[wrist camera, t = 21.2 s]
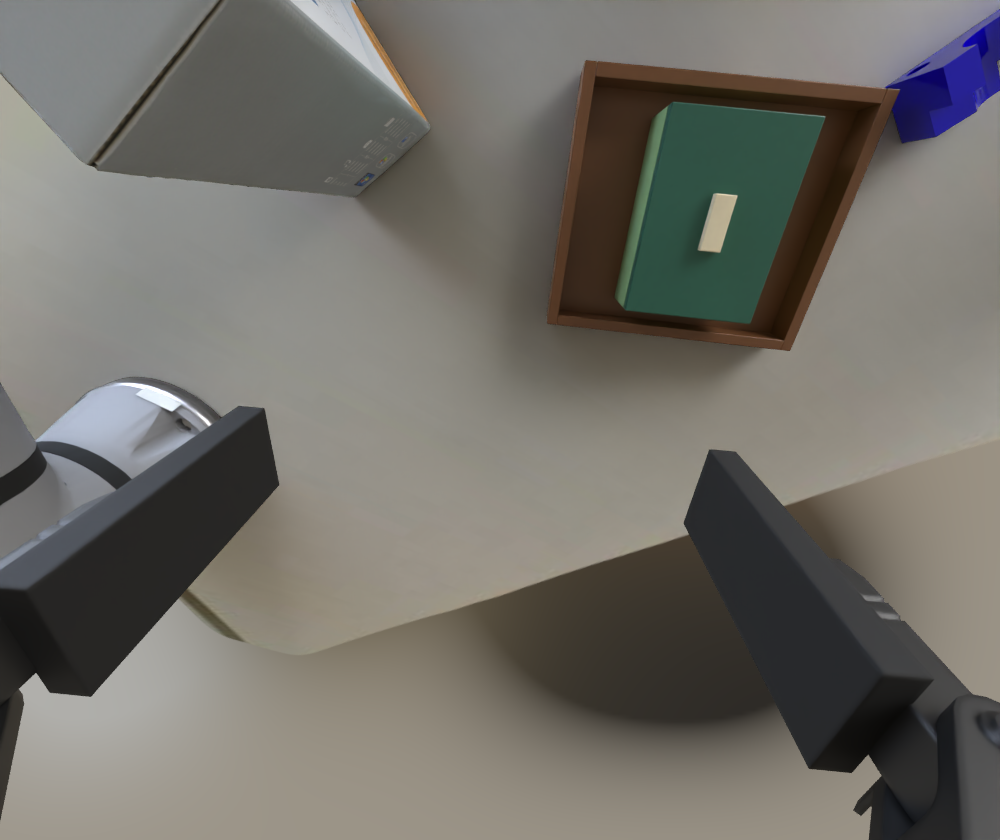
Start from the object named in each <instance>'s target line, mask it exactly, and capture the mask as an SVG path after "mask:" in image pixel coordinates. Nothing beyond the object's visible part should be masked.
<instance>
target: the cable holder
mask: <svg viewBox="0 0 1000 840" xmlns="http://www.w3.org/2000/svg"><path fill="white" fill-rule="evenodd" d="M998 60H1000V9H999V10H998V11H996V12H995V13H993V14H992V15H990V16H989V17H987V18H986V19H985V20H983V21H982V22H980V23H979V24H977V25H976V26H974V27H973V28H971V29H970V30H968V31H967V32H965V33H964V34H963V35H961V36H960V37H958V38H957V39H955V40H954V41H952V42H951V43H949V44H948V45H946V46H945V47H943V48H942V49H941V50H939V51H938V52H936V53H935V54H933V55H932V56H930V57H929V58H927V59H926V60H924V61H923V62H922V63H920V64H919V65H917V66H916V67H914V68H913V69H911V70H910V71H908V72H907V73H905V74H904V75H902V76H901V77H900V78H898V79H897V80H895V81H894V82H892V83H891V84H889V85H888V86H886V88H887V89H899V90H900V91H899V94H898V96H897V99H896V101H895V103H894V106H893V108H892V111H893V115H894V118H895V121H896V125H897V128H898V132H899V135H900V139H901V142H902V143H906V142H911V141H917V140H922V139H928V138H933V137H937V136H938V135H940V134H941V133H943V132H945V131H946V130H948V129H949V128H951V127H953V126H954V125H956V124H957V123H959V122H961V121H962V120H964V119H965V118H967V117H969V116H970V115H972V114H973V113H975V112H977V109H978V107H979V106H980V105H981V104H982V103H983V102H984V101H986V100H987V99H988V98H989V97H991V96H992V95H994V94H995V93H997V92H998V91H1000V76H999V71H998V66H997V61H998Z"/></svg>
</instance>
